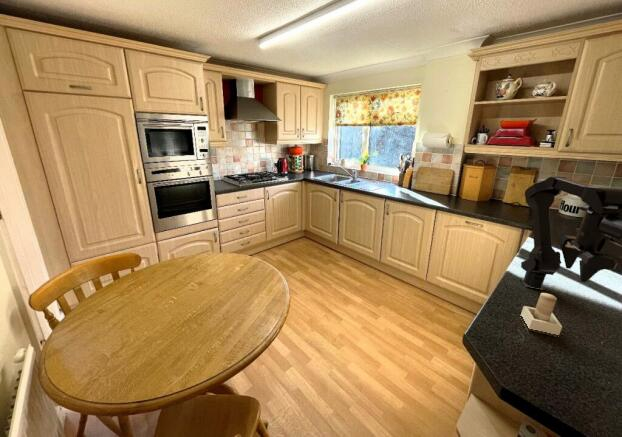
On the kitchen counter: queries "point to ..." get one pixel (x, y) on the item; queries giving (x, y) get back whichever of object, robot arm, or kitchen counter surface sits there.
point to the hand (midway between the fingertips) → (575, 274)
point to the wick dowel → (544, 307)
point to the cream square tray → (540, 322)
